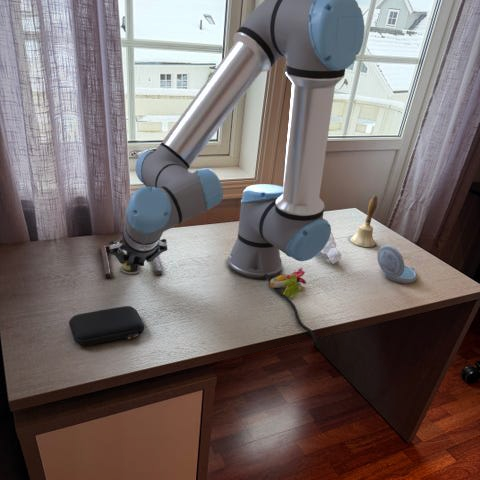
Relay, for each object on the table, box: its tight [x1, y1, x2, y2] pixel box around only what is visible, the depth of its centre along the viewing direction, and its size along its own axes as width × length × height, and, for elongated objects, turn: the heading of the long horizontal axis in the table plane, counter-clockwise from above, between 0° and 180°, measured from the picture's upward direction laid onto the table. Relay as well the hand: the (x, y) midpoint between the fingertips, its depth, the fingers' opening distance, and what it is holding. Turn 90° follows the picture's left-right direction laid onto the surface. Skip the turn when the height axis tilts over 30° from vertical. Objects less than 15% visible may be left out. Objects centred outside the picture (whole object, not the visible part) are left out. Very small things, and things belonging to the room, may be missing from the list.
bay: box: [100, 244, 163, 280], centre depth 122 cm, size 16×14×2 cm
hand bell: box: [349, 195, 378, 248], centre depth 146 cm, size 8×8×16 cm
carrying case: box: [68, 305, 146, 346], centre depth 95 cm, size 11×3×15 cm
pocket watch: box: [376, 244, 418, 284], centre depth 130 cm, size 10×11×15 cm
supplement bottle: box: [121, 250, 141, 275], centre depth 116 cm, size 5×5×8 cm
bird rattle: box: [269, 267, 307, 299], centre depth 119 cm, size 6×11×9 cm
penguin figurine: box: [320, 231, 342, 265], centre depth 135 cm, size 6×8×12 cm
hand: (133, 266), depth 114 cm, fingers closed
